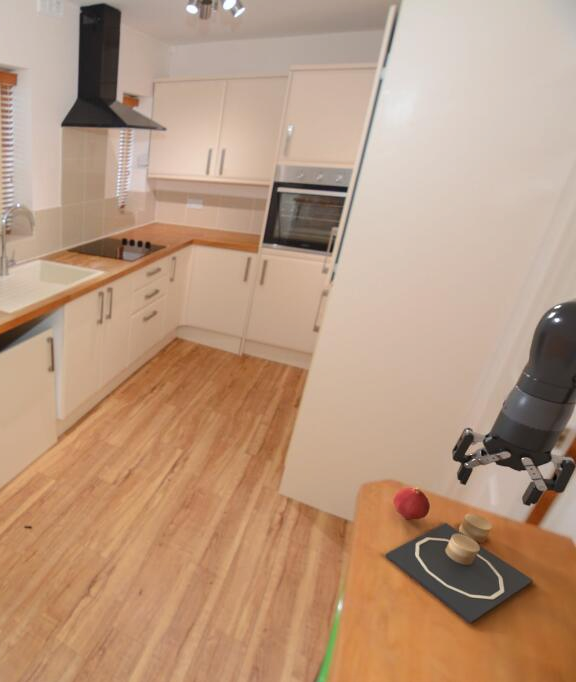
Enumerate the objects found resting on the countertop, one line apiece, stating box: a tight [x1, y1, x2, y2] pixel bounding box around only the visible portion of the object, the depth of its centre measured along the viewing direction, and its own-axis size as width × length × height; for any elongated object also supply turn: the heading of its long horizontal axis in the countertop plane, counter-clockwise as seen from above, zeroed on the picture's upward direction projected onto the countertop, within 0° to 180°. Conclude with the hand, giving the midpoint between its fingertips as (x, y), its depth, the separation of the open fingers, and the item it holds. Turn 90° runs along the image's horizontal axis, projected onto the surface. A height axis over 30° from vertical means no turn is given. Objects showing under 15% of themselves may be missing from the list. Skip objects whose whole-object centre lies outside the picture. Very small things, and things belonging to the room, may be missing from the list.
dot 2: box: [445, 534, 480, 565], centre depth 83 cm, size 4×4×4 cm
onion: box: [392, 487, 431, 521], centre depth 92 cm, size 6×6×8 cm
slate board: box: [385, 522, 534, 625], centre depth 82 cm, size 14×18×1 cm
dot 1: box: [458, 513, 493, 544], centre depth 89 cm, size 4×4×4 cm
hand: (493, 491), depth 81 cm, fingers open, 8 cm apart
